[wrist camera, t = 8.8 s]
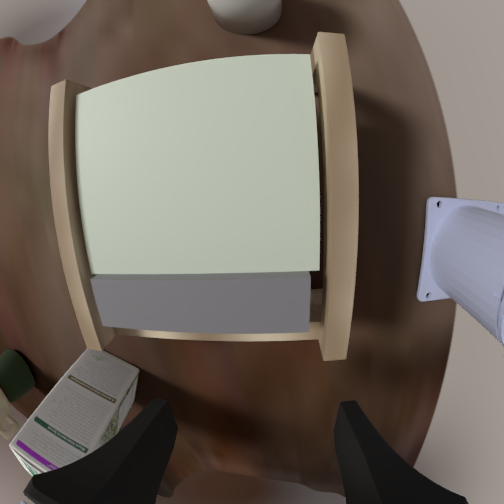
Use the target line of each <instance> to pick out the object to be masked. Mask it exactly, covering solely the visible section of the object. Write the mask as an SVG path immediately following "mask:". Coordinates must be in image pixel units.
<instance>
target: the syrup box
mask: <svg viewBox="0 0 504 504" xmlns="http://www.w3.org/2000/svg"><path fill="white" fill-rule="evenodd" d="M139 371H140V370H139V369H138V368H136V367H135V366H133V365H131V364H129V363H127V362H125V361H123V360H121V359H119V358H117V357H116V356H114V355H112V354H110V353H108V352H106V351H104V350H103V351H98V350H92V349H88V348H87V349H86V351H85V352H84V353H83V354H82V355H81V356H80V357H79V358H78V360H77V361H76V362H75V363H74V364H73V365H72V366H71V367H70V369H69V370H68V371H67V372H66V373H65V374H64V376H63V377H62V378H61V379H60V380H59V382H58V383H57V384H56V385H55V386H54V388H53V389H52V390H51V391H50V393H49V394H48V395H47V396H46V397H45V399H44V400H43V401H42V402H41V404H40V405H39V406H38V408H37V409H36V410H35V411H34V413H33V414H32V415H31V416H30V418H29V419H28V420H27V422H26V423H25V424H24V426H23V427H22V428H21V430H20V431H19V432H18V434H17V435H16V437H15V438H14V439H13V441H12V442H11V443H10V445H9V446H10V448H11V449H12V451H13V452H14V454H15V455H16V457H17V458H18V460H19V461H20V463H21V464H22V465H23V467H24V468H25V469H26V471H27V472H28V473H29V474H30V475H31V476H32V477H33V475H36V474H40V473H44V472H48V471H52V470H55V469H58V468H61V467H63V466H66V465H68V464H71V463H73V462H75V461H77V460H79V459H81V458H83V457H85V456H86V455H88V454H90V453H92V452H93V451H95V450H96V449H98V448H99V447H101V446H102V445H104V444H105V443H106V442H108V441H109V440H110V439H111V438H113V437H114V436H115V435H116V434H118V432H119V430H120V428H121V426H122V424H123V422H124V420H125V418H126V416H127V414H128V412H129V410H130V408H131V406H132V405H133V403H134V400H135V394H136V387H137V382H138V376H139Z"/></svg>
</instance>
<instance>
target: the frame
mask: <svg viewBox="0 0 504 504" xmlns="http://www.w3.org/2000/svg"><path fill="white" fill-rule="evenodd" d="M310 59H311V68H312V77H313V87H314V93H318V97H319V109H320V122H321V137H322V156H323V185H324V259H323V288H322V289H311V292H310V319H309V332H303V333H273V334H215V333H185V332H166V331H151V330H138V329H127V328H117V327H107V326H103V325H102V322H101V318H100V315H99V311H98V308H97V304H96V301H95V297H94V293H93V289H92V285H91V281H90V279H91V278H93V277H94V276H96V275H97V274H91V271H90V266H89V261H88V256H87V251H86V245H85V239H84V233H83V227H82V220H81V212H80V204H79V195H78V184H77V171H76V150H75V112H76V95H78V94H80V93H83V92H85V91H88V90H91V89H92V88H89V87H87V86H84V85H81V84H78V83H75V82H72V81H69V80H64V81H61V82H59V83H57V84H55V85H53V86H51V94H50V108H49V170H50V184H51V195H52V204H53V213H54V220H55V227H56V233H57V239H58V244H59V249H60V254H61V259H62V264H63V268H64V273H65V277H66V281H67V285H68V289H69V292H70V296H71V300H72V303H73V306H74V310H75V313H76V316H77V319H78V322H79V326H80V329H81V331H82V334H83V337H84V340H85V343H86V345H87V348H88V349H92V350H98V351H103V350H104V348H105V347H106V346H107V345H108V344H109V343H110V341H111V340H112V339H113V338H114V337H115V336H116V334H122V335H131V336H142V337H154V338H167V339H184V340H207V341H288V340H311V339H319V343H320V348H321V352H322V356H323V360H324V361H330V360H342V359H346V355H347V349H348V342H349V335H350V327H351V319H352V310H353V301H354V291H355V279H356V265H357V248H358V220H359V175H358V147H357V130H356V117H355V106H354V96H353V87H352V79H351V72H350V65H349V58H348V52H347V46H346V40H345V35H344V34H338V33H327V32H318V34H317V37H316V40H315V43H314V46H313V49H312V52H311V55H310Z"/></svg>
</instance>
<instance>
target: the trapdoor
mask: <svg viewBox="0 0 504 504" xmlns="http://www.w3.org/2000/svg"><path fill="white" fill-rule="evenodd" d="M75 150H76V171H77V184H78V195H79V204H80V212H81V220H82V227H83V233H84V239H85V245H86V251H87V256H88V261H89V266H90V271H91V274H97V275H96V276H94V277H93V278H91V279H90V281H91V285H92V289H93V293H94V297H95V301H96V304H97V308H98V311H99V315H100V318H101V322H102V325H103V326H107V327H117V328H127V329H138V330H151V331H166V332H185V333H215V334H273V333H303V332H309V319H310V292H311V276H310V273H309V271H319V265H320V188H319V159H318V139H317V123H316V110H315V98H314V87H313V77H312V68H311V59H310V54H270V55H251V56H238V57H228V58H220V59H212V60H205V61H198V62H192V63H186V64H181V65H176V66H171V67H166V68H162V69H157V70H153V71H149V72H145V73H141V74H138V75H134V76H131V77H127V78H124V79H120V80H117V81H114V82H111V83H108V84H105V85H102V86H99V87H96V88H93V89H91V90H88V91H85V92H83V93H80V94H78V95H76V112H75Z"/></svg>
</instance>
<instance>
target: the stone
mask: <svg viewBox="0 0 504 504" xmlns="http://www.w3.org/2000/svg"><path fill="white" fill-rule="evenodd" d="M207 1H208V4H209V6H210V8H211V11H212V13H213V15H214V18H215V20H216V22H217V23H218V25H219V26H220V27H221V28H223V29H224V30H226V31H228V32H231V33H235V34H241V35H250V34H256V33H260V32H263V31H266V30H268V29H269V28H271V27H272V26H274V25H275V24H276V23H277V22H278V20H279V18H280V16H281V12H282V0H207Z"/></svg>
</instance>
